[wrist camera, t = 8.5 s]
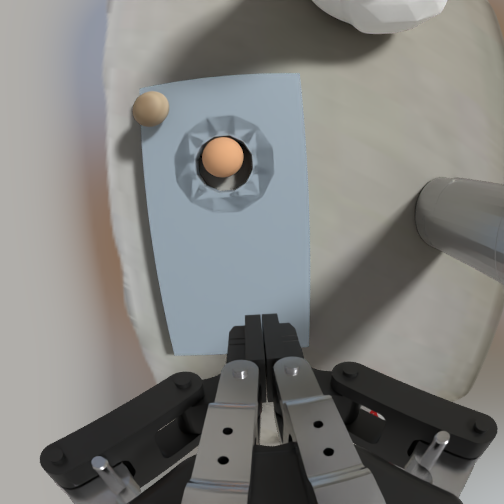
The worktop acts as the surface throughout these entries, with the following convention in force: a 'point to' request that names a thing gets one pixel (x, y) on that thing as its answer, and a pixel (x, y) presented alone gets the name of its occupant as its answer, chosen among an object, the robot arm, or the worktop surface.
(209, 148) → the ball
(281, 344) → the robot arm
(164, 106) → the cork ball
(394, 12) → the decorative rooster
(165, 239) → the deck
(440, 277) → the worktop surface
